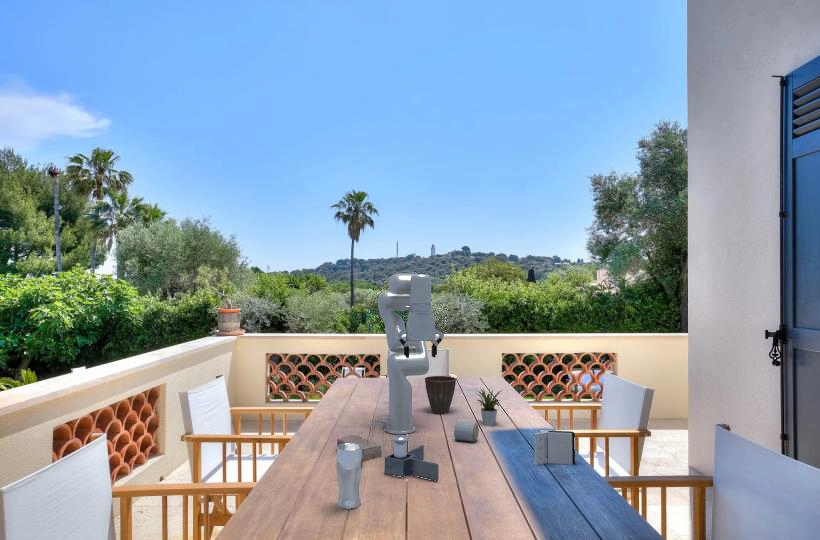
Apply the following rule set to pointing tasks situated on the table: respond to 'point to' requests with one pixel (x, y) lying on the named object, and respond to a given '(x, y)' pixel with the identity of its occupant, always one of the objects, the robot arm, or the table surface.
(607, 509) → the table surface
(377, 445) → the brick
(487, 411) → the house plant
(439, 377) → the plant pot
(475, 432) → the ceramic mug
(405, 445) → the hinge pin
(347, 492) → the beer glass
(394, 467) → the grey cross-shaped holder
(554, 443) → the hinge
